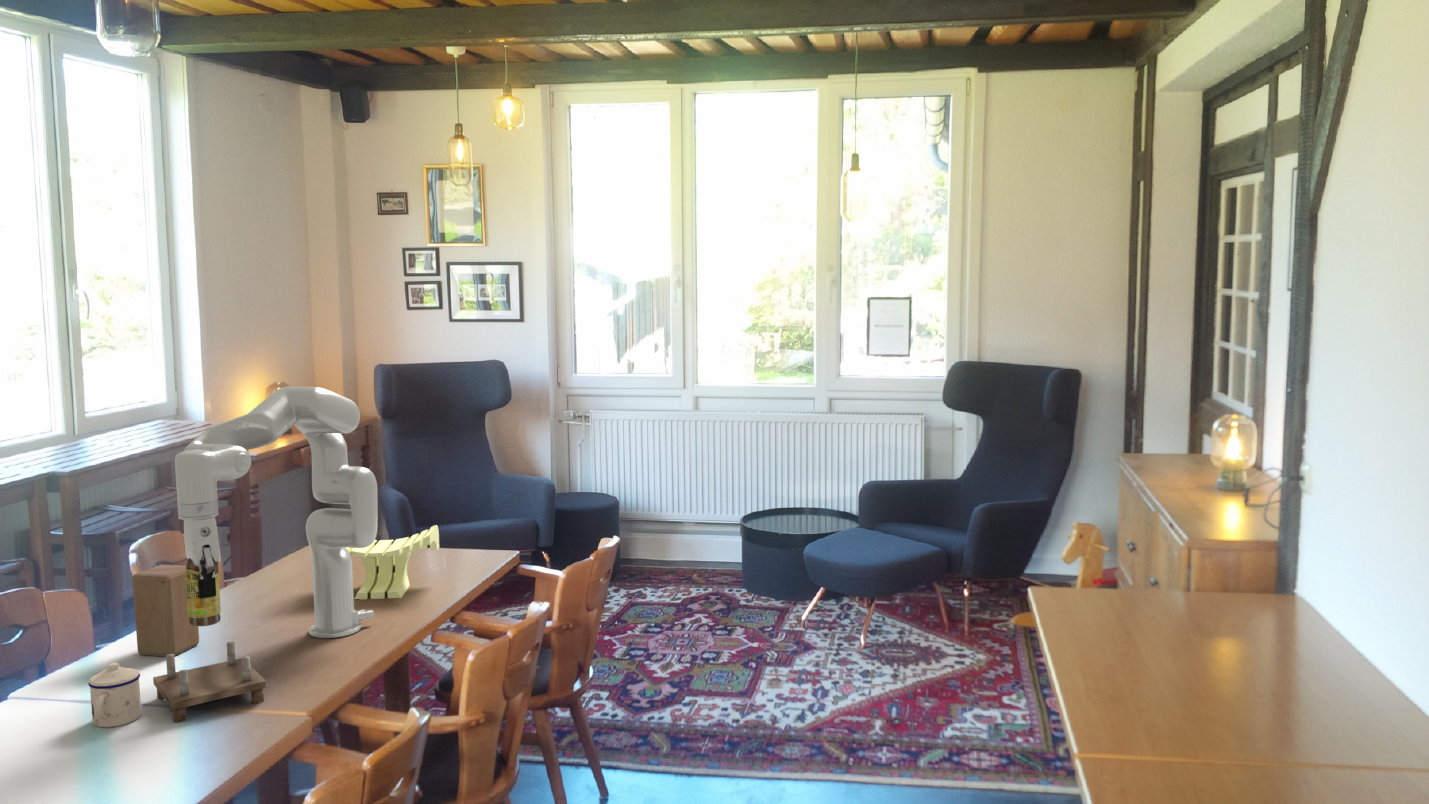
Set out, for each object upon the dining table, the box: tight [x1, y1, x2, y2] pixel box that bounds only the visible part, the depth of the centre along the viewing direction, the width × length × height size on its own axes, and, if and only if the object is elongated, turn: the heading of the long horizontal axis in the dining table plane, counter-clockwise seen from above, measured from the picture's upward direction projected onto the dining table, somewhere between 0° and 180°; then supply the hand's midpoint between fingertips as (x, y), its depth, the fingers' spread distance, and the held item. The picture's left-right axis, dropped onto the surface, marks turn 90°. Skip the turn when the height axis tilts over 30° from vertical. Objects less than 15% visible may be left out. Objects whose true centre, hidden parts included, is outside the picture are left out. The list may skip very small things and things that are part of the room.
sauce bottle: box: [185, 530, 222, 627], centre depth 218 cm, size 6×6×20 cm
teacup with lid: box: [87, 662, 142, 728], centre depth 209 cm, size 12×9×12 cm
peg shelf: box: [152, 641, 267, 723], centre depth 220 cm, size 18×18×10 cm
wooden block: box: [132, 564, 200, 657], centre depth 250 cm, size 10×10×20 cm
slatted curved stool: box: [346, 524, 440, 601], centre depth 299 cm, size 30×16×18 cm, turn 96°
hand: (203, 592), depth 218 cm, fingers closed on sauce bottle, 6 cm apart
